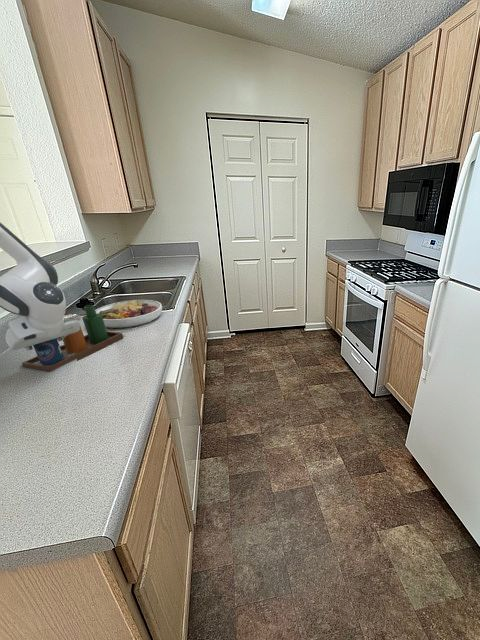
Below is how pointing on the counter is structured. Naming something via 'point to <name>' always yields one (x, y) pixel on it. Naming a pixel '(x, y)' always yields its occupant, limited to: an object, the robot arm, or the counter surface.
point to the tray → (90, 350)
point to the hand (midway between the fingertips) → (44, 343)
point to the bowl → (129, 313)
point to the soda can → (49, 352)
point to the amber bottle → (75, 341)
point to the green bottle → (94, 325)
